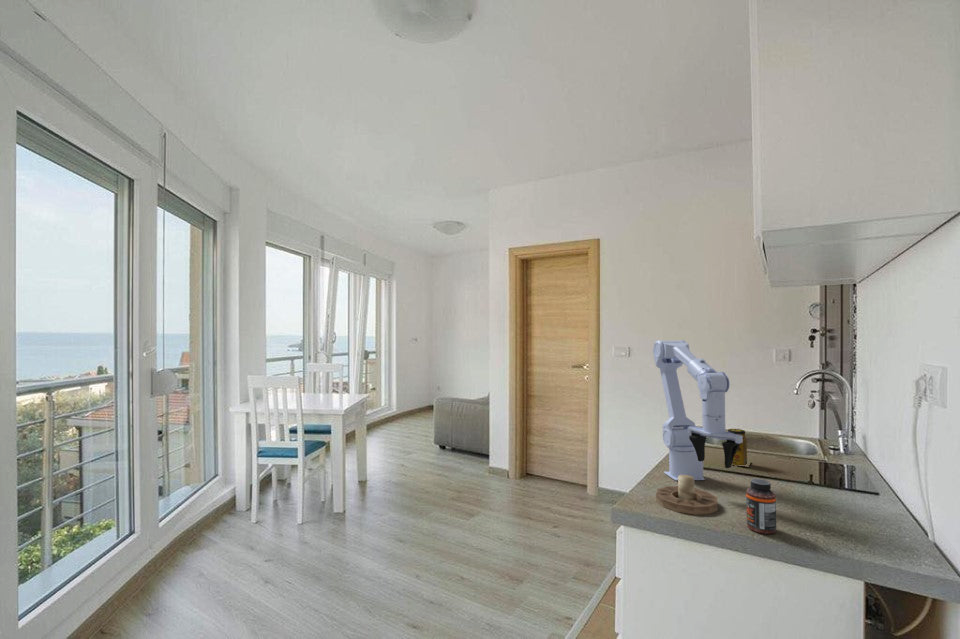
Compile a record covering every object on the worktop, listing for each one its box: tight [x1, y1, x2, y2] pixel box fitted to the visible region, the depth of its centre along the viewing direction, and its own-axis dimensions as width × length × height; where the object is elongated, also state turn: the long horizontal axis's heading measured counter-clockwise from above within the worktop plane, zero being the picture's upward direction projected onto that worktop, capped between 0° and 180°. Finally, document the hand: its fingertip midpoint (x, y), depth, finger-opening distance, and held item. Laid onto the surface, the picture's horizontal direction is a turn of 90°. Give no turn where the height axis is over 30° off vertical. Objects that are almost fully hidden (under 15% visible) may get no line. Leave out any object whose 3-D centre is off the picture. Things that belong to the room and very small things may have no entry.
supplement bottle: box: [745, 478, 777, 535], centre depth 106 cm, size 6×6×11 cm
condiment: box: [727, 428, 748, 465], centre depth 158 cm, size 7×8×12 cm
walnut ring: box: [655, 485, 719, 515], centre depth 122 cm, size 15×15×2 cm
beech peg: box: [677, 475, 695, 501], centre depth 122 cm, size 4×4×7 cm
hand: (714, 464), depth 126 cm, fingers open, 7 cm apart
